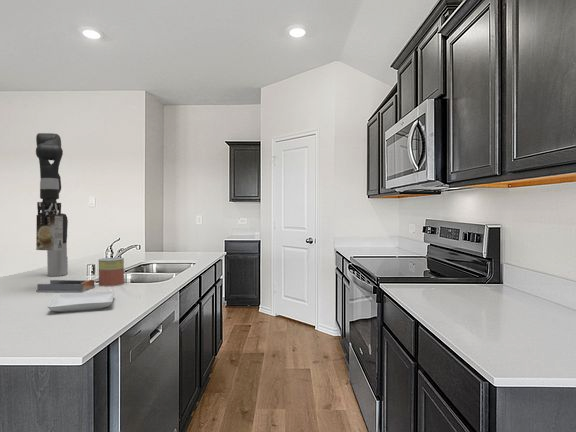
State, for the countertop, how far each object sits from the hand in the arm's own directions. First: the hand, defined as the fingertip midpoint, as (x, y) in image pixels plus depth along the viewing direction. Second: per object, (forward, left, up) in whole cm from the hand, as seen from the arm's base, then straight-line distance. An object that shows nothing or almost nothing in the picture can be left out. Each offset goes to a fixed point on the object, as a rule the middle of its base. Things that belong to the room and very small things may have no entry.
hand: (49, 225), depth 189 cm
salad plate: (+31, +32, -29) cm, 53 cm away
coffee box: (0, 0, -12) cm, 12 cm away
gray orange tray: (+3, +9, -29) cm, 30 cm away
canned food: (-11, +23, -29) cm, 39 cm away
